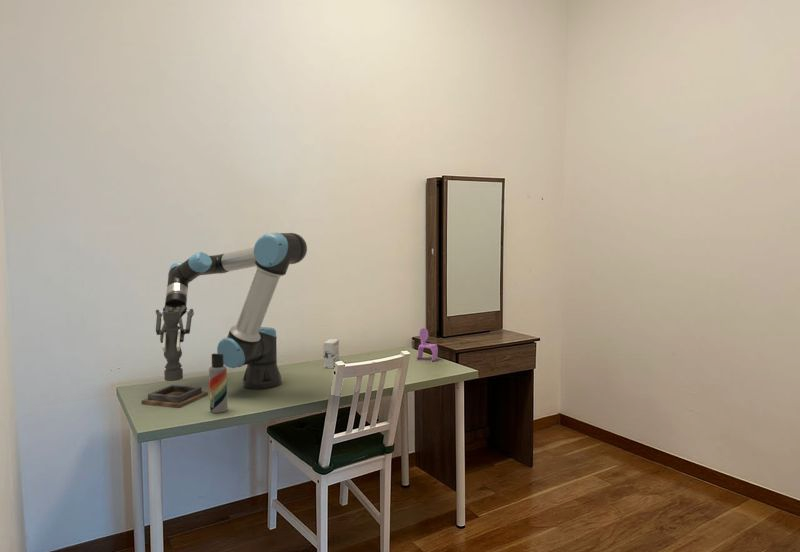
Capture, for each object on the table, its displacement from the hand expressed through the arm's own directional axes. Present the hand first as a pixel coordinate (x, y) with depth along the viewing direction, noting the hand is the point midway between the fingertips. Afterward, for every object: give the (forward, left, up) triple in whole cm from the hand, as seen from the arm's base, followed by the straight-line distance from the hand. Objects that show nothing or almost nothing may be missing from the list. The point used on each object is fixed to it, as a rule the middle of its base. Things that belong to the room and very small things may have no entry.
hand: (171, 349), depth 198 cm
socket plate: (+1, -3, -19) cm, 20 cm away
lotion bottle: (-22, +4, -20) cm, 29 cm away
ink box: (-34, -65, -20) cm, 76 cm away
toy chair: (-73, -89, -20) cm, 117 cm away
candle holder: (+2, -3, -12) cm, 13 cm away
